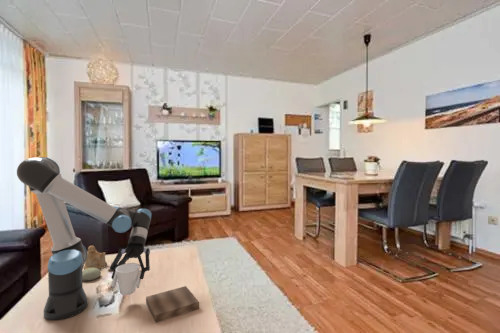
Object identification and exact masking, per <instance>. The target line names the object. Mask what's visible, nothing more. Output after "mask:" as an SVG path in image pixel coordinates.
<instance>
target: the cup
mask: <svg viewBox="0 0 500 333" xmlns="http://www.w3.org/2000/svg"><path fill="white" fill-rule="evenodd" d="M140 269H141V266H140V263H135V262H127V263H125V264H123V265H120V266H118V267H117V268H116V272H117V278H118V279H117V284H118V288H119V293H120V294H121V295H122V296H128V295H132V294H134V293H135V292H136V289H137V287H136V283H137V278H138V274H139V270H140Z"/></svg>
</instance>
